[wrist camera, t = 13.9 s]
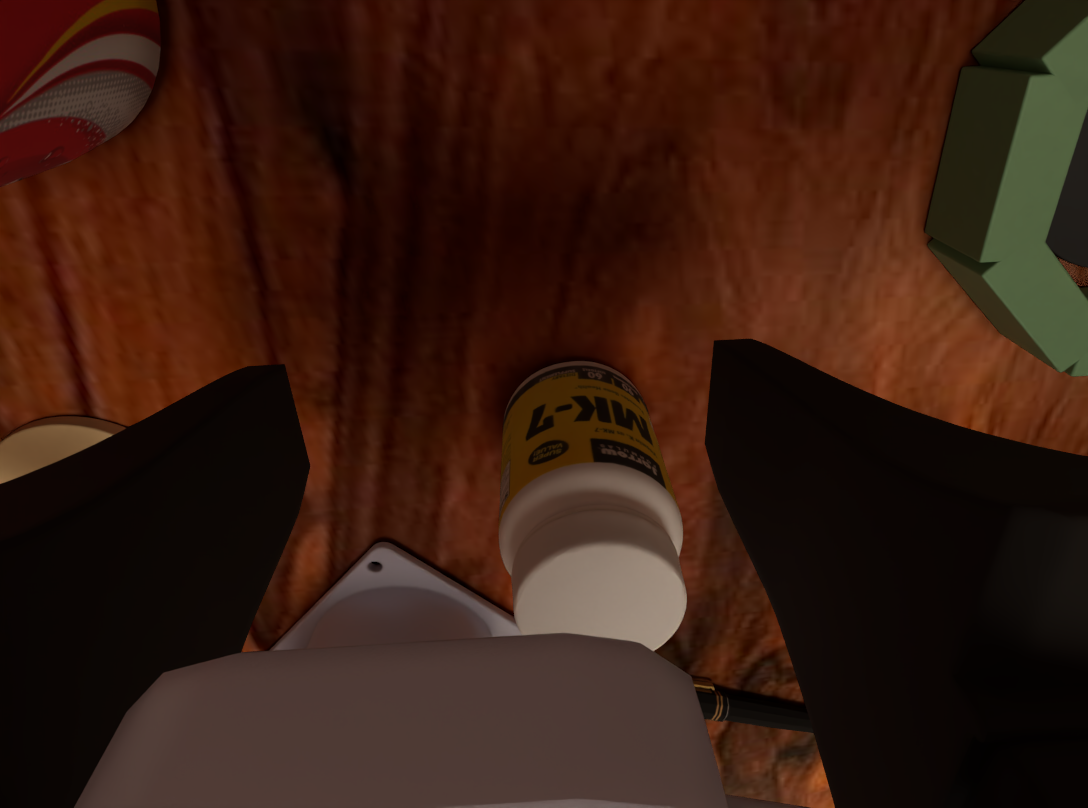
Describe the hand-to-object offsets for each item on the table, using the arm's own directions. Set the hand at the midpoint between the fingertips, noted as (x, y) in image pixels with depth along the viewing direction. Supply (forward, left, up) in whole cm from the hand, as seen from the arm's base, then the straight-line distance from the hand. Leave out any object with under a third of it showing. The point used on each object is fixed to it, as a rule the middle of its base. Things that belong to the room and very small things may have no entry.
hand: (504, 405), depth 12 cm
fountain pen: (-9, -22, -9) cm, 25 cm away
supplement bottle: (-3, -5, -10) cm, 11 cm away
